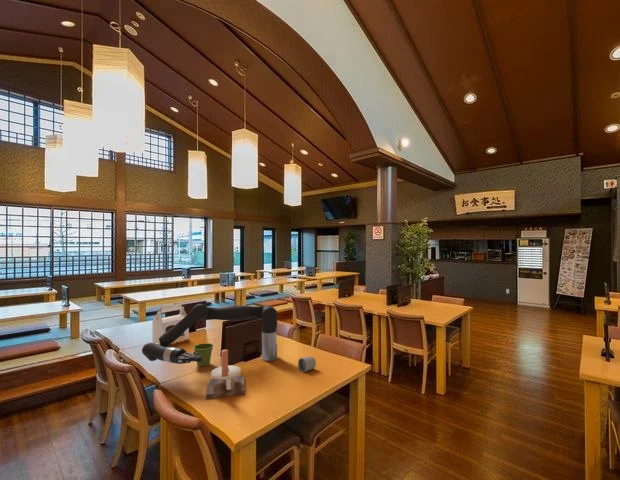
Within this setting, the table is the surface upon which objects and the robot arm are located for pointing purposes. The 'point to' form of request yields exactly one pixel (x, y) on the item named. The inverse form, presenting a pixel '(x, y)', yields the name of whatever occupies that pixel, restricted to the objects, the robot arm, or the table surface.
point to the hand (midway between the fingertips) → (200, 359)
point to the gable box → (167, 322)
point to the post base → (219, 387)
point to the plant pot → (204, 353)
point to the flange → (225, 370)
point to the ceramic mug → (306, 364)
